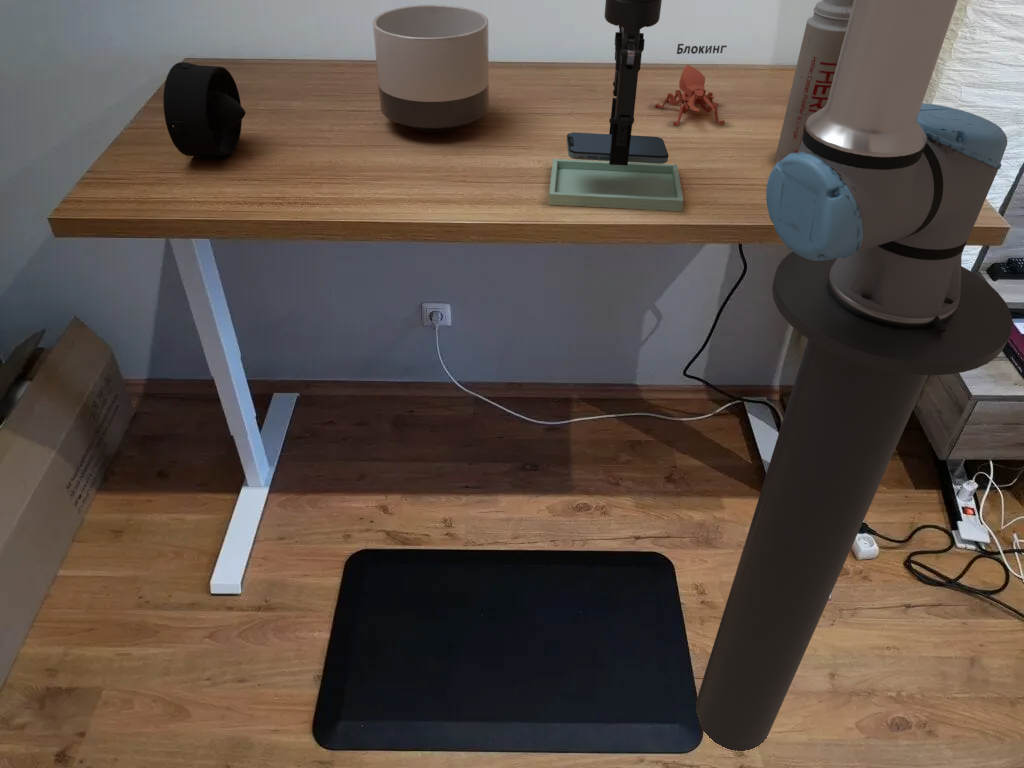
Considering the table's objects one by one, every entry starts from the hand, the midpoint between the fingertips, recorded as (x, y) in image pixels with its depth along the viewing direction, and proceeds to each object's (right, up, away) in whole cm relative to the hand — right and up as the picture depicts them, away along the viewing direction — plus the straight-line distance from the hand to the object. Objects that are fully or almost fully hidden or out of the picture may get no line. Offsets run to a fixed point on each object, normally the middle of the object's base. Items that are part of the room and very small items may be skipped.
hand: (617, 151), depth 122 cm
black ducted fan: (-64, +3, +12) cm, 65 cm away
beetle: (+18, +15, +28) cm, 36 cm away
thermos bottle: (+32, +1, +12) cm, 34 cm away
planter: (-30, +12, +23) cm, 40 cm away
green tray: (0, -5, +4) cm, 6 cm away
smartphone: (0, 0, 0) cm, 0 cm away
